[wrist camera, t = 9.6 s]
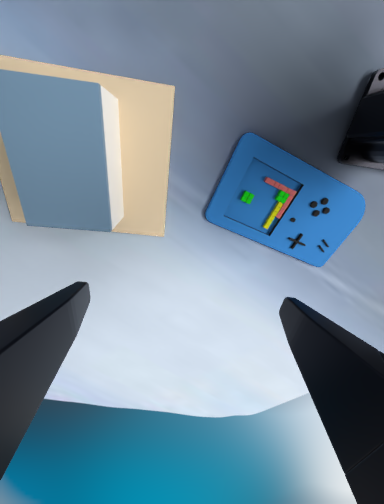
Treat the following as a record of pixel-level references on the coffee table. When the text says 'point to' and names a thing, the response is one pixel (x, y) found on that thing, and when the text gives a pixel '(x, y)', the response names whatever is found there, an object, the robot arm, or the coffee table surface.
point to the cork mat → (131, 143)
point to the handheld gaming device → (284, 202)
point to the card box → (63, 150)
